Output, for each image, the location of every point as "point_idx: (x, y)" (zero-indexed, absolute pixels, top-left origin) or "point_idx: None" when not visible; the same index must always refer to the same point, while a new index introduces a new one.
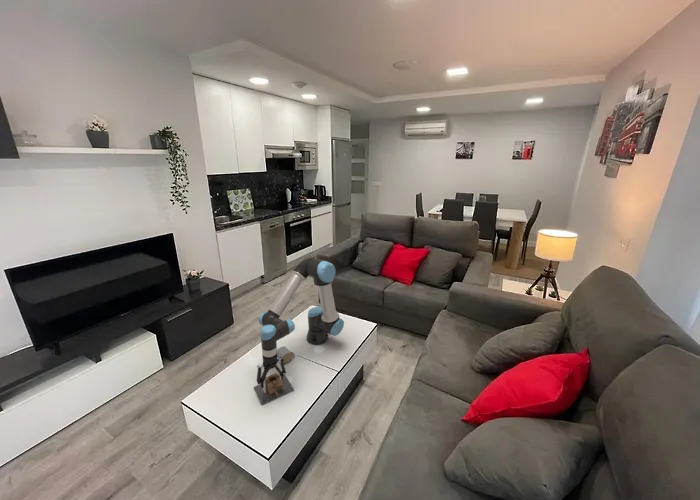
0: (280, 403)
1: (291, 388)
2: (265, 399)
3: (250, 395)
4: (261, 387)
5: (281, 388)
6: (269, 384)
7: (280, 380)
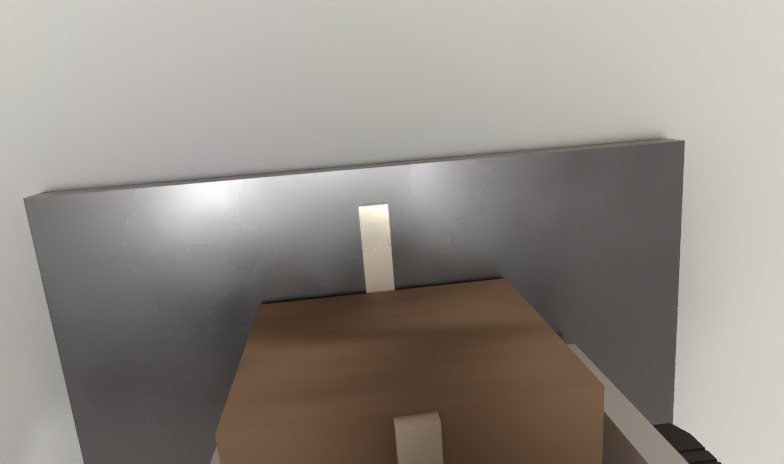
0: (372, 15)
1: (73, 240)
2: (596, 211)
3: (734, 422)
4: (694, 439)
5: (265, 312)
6: (563, 415)
7: (233, 430)
